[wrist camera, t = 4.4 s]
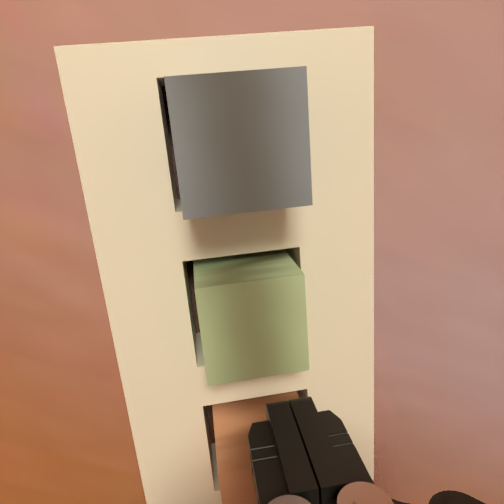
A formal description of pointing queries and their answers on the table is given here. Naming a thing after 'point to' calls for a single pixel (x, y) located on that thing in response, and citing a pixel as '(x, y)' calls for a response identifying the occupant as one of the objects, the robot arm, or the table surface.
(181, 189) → the slate block
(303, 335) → the sage block
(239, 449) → the terracotta block
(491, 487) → the table surface
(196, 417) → the board
